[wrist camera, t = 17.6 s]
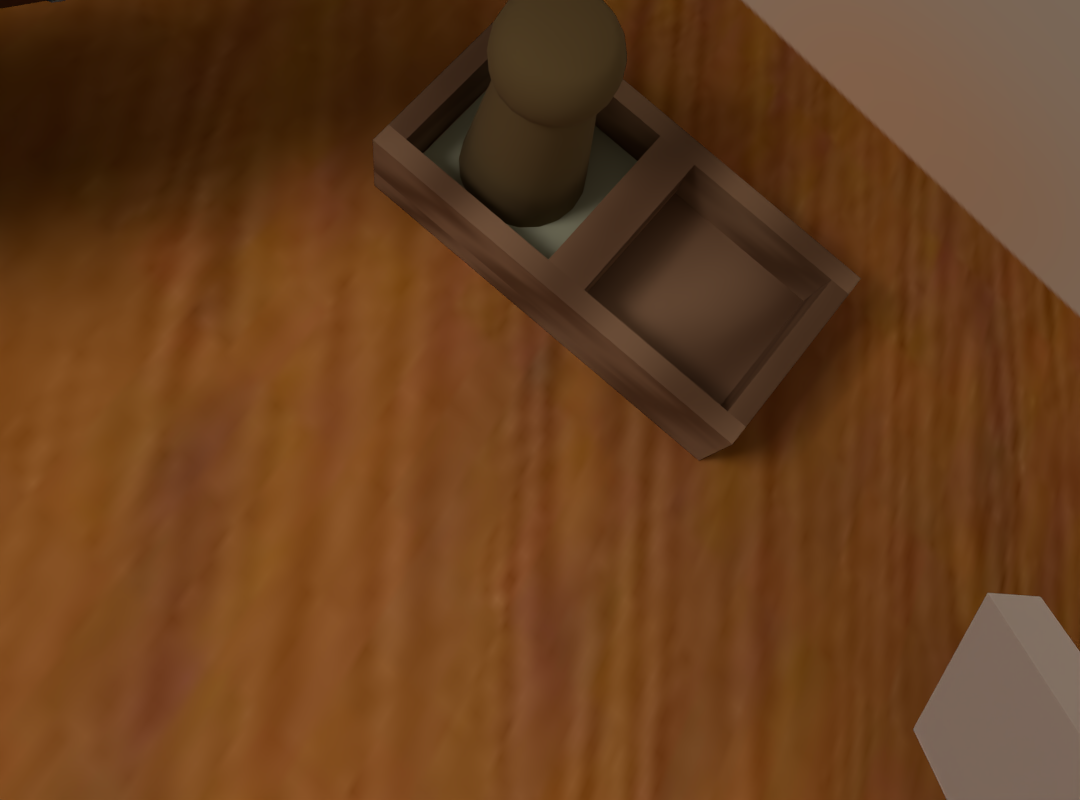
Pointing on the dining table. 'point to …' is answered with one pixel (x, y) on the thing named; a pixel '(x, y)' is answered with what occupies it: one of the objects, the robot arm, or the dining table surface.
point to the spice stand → (631, 257)
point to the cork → (541, 107)
